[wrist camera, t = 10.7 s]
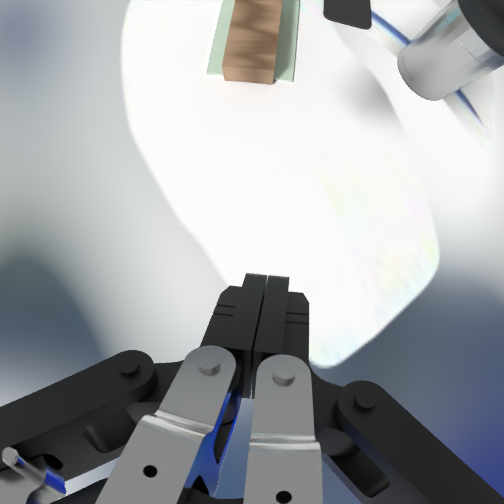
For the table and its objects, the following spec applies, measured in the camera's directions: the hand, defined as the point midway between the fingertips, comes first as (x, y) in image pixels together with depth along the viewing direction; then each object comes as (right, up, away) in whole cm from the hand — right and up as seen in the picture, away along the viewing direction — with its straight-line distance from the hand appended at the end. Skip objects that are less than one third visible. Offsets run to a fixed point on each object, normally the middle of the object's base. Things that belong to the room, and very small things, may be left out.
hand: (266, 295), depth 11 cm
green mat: (0, +32, +21) cm, 38 cm away
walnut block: (-1, +23, +20) cm, 30 cm away
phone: (+14, +42, +21) cm, 49 cm away
